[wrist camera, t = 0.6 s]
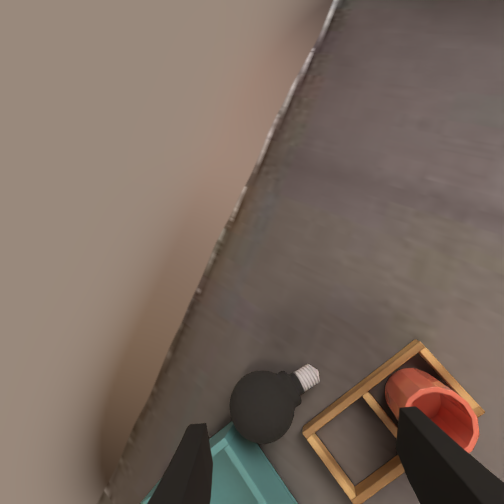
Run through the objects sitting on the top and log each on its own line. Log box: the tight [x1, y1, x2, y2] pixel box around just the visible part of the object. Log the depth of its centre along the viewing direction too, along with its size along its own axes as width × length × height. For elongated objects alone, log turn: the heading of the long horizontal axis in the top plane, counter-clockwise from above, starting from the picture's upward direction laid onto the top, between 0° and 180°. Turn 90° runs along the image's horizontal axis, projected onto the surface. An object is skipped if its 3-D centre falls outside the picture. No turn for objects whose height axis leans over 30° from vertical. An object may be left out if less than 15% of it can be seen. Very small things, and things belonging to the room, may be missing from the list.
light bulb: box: [230, 364, 320, 444], centre depth 29 cm, size 6×6×10 cm
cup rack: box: [302, 339, 485, 504], centre depth 28 cm, size 8×15×2 cm, turn 129°
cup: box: [385, 368, 479, 453], centre depth 26 cm, size 5×5×6 cm
